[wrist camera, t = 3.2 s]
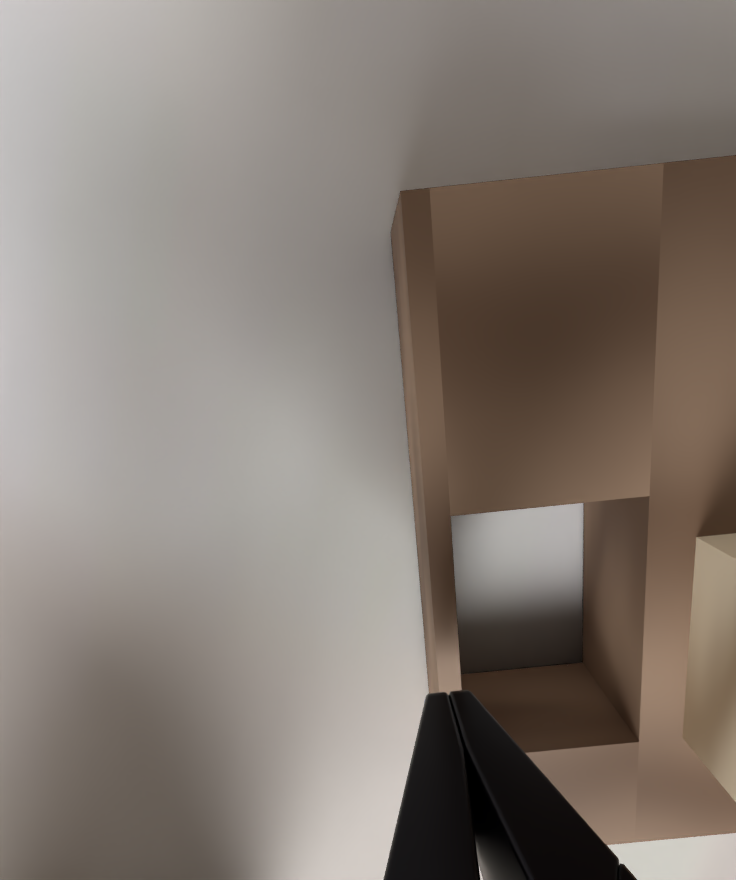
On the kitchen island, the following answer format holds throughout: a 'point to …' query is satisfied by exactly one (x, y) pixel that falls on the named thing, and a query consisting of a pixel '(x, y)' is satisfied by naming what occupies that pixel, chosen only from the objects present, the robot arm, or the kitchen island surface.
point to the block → (713, 659)
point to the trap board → (581, 450)
